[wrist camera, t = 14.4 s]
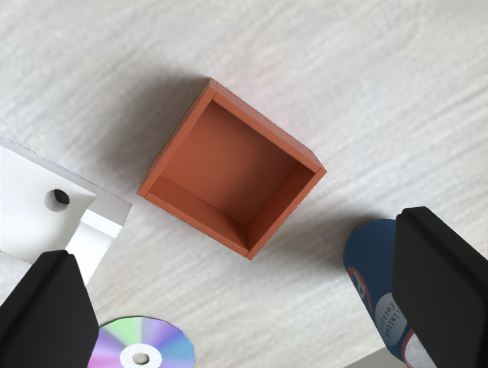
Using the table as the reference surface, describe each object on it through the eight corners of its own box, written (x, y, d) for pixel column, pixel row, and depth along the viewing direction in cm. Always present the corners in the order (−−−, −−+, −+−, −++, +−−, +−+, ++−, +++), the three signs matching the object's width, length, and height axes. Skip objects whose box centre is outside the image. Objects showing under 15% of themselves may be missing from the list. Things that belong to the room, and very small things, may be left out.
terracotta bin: (147, 170, 30) (136, 193, 26) (210, 77, 28) (209, 86, 24) (246, 231, 33) (250, 261, 29) (312, 151, 31) (327, 171, 26)
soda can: (323, 254, 35) (372, 360, 24) (373, 198, 33) (452, 286, 22) (376, 286, 37) (443, 398, 26) (426, 236, 35) (523, 334, 24)
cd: (68, 374, 39) (67, 375, 38) (113, 300, 35) (113, 300, 35) (164, 408, 41) (164, 408, 41) (215, 342, 38) (215, 342, 38)
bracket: (132, 201, 32) (122, 226, 25) (92, 269, 33) (70, 313, 25) (-18, 122, 29) (-80, 124, 22) (-62, 198, 29) (-137, 226, 22)
